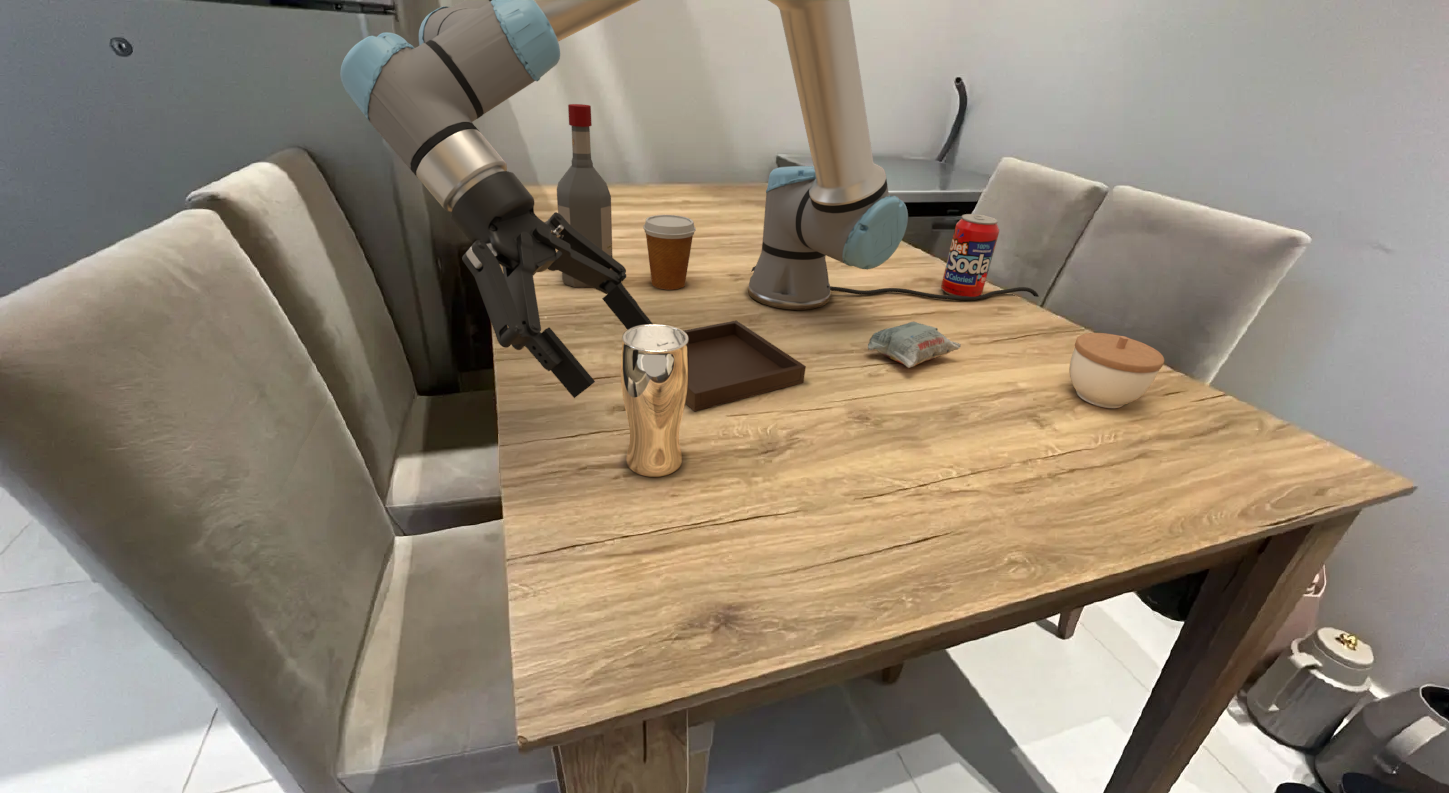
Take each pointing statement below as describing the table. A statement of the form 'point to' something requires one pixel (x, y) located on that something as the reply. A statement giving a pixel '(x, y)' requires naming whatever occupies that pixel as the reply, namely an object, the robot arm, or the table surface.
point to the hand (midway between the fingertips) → (619, 361)
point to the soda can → (970, 255)
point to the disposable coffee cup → (669, 249)
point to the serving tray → (735, 365)
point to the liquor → (584, 190)
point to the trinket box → (1112, 369)
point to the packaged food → (911, 343)
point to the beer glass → (654, 396)
